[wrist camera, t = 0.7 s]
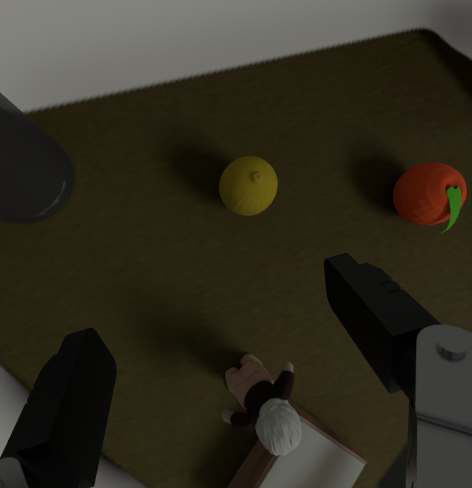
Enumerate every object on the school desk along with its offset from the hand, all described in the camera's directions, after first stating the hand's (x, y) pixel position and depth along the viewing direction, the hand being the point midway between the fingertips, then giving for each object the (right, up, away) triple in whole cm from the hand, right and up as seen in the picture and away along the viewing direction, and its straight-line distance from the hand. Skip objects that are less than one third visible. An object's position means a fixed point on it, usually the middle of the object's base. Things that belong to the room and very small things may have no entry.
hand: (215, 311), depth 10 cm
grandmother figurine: (+2, -11, +23) cm, 26 cm away
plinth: (+6, -22, +23) cm, 33 cm away
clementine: (+22, +7, +27) cm, 35 cm away
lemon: (+1, +8, +23) cm, 24 cm away
